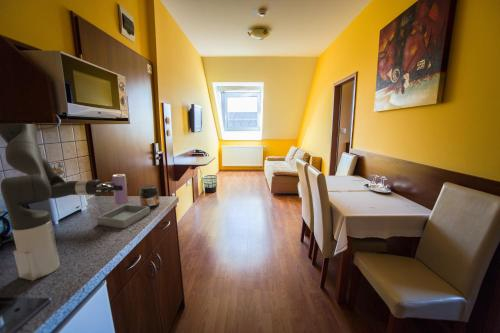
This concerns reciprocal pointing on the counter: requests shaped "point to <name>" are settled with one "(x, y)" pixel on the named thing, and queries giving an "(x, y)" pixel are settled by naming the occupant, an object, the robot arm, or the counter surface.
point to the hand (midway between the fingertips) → (124, 186)
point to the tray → (123, 216)
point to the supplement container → (149, 196)
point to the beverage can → (121, 195)
